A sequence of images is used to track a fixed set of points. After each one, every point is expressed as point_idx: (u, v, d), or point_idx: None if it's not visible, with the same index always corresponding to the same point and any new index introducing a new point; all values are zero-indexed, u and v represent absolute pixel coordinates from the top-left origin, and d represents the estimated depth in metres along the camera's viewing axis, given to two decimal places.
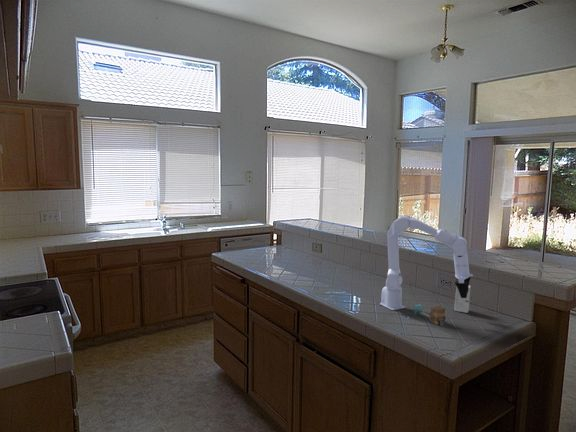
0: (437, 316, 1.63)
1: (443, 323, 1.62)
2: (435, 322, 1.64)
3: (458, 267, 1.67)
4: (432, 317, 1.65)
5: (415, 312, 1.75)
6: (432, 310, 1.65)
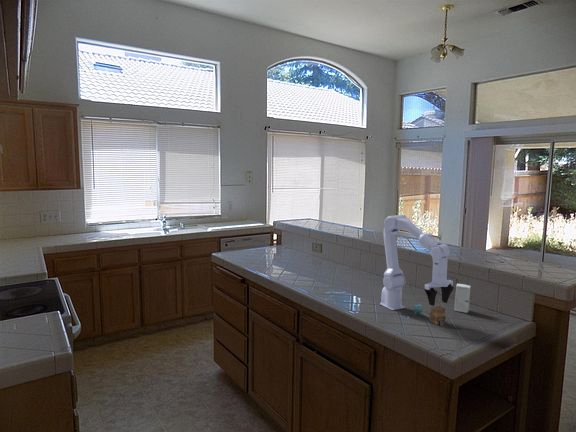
0: (437, 316, 1.63)
1: (443, 323, 1.62)
2: (435, 322, 1.64)
3: (433, 274, 1.63)
4: (432, 317, 1.65)
5: (415, 312, 1.75)
6: (432, 310, 1.65)
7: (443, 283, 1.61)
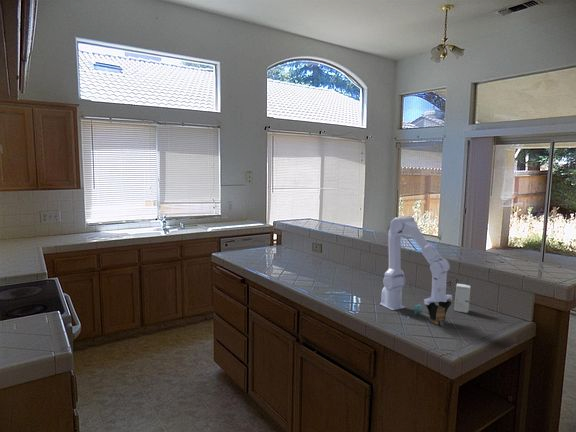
0: (437, 316, 1.63)
1: (443, 323, 1.62)
2: (435, 322, 1.64)
3: (432, 289, 1.64)
4: None
5: (415, 312, 1.75)
6: None
7: (442, 298, 1.62)
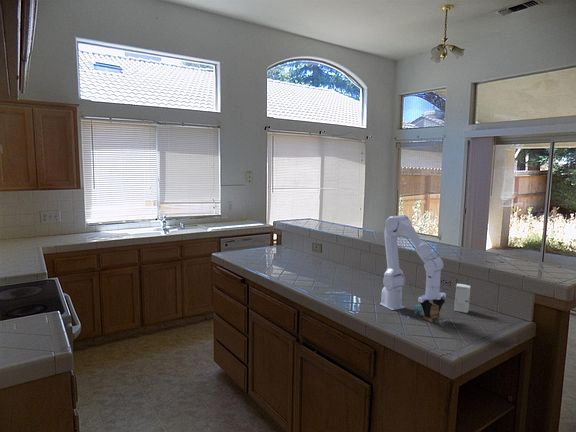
0: (431, 313, 1.66)
1: (443, 323, 1.62)
2: (429, 319, 1.66)
3: (426, 286, 1.67)
4: None
5: (415, 312, 1.75)
6: None
7: (436, 296, 1.65)
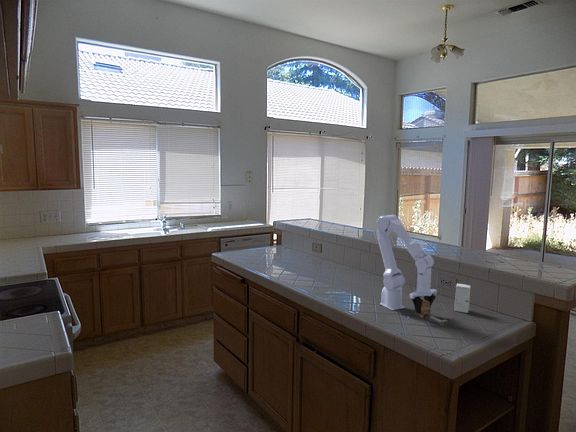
0: (422, 309, 1.71)
1: (443, 323, 1.62)
2: (420, 315, 1.71)
3: (417, 283, 1.71)
4: None
5: None
6: None
7: (427, 292, 1.69)
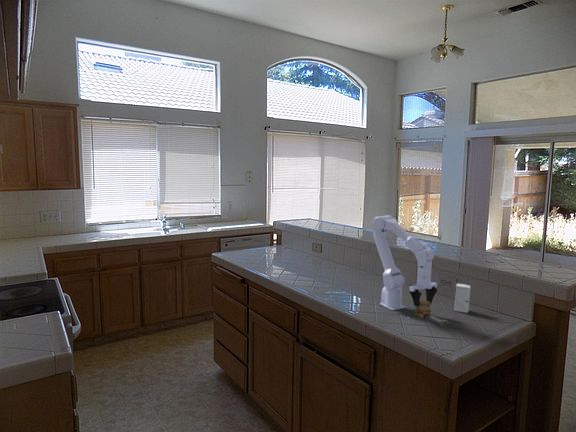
0: (422, 309, 1.71)
1: (443, 323, 1.62)
2: (420, 315, 1.71)
3: (417, 276, 1.71)
4: (418, 310, 1.72)
5: None
6: None
7: (427, 285, 1.69)
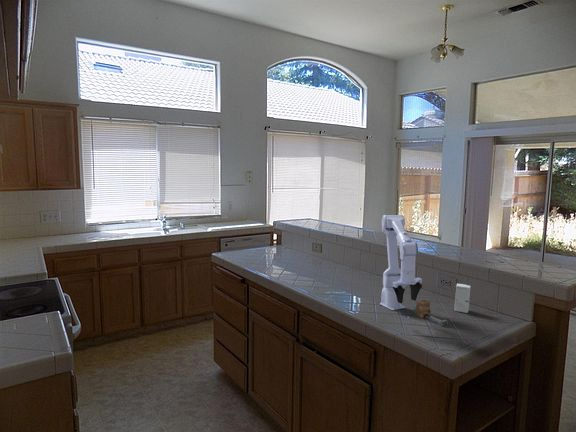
0: (422, 309, 1.71)
1: (443, 323, 1.62)
2: (420, 315, 1.71)
3: (401, 271, 1.63)
4: (418, 310, 1.72)
5: None
6: (418, 304, 1.72)
7: (411, 281, 1.61)
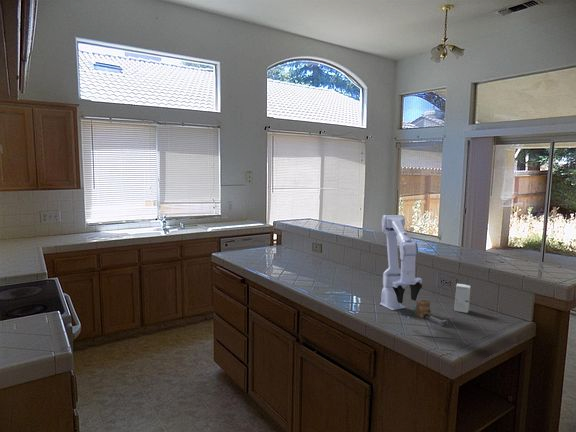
0: (422, 309, 1.71)
1: (443, 323, 1.62)
2: (420, 315, 1.71)
3: (401, 271, 1.63)
4: (418, 310, 1.72)
5: None
6: (418, 304, 1.72)
7: (411, 281, 1.61)
